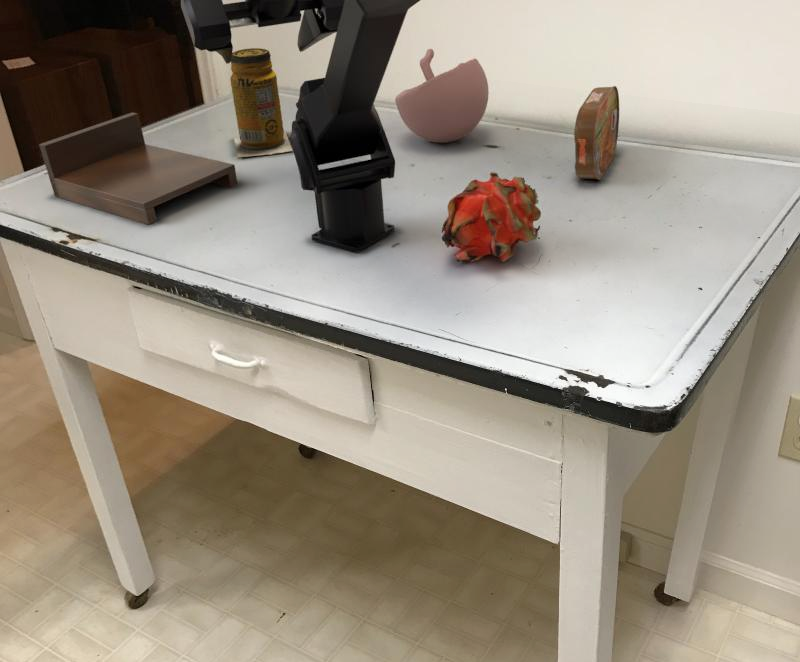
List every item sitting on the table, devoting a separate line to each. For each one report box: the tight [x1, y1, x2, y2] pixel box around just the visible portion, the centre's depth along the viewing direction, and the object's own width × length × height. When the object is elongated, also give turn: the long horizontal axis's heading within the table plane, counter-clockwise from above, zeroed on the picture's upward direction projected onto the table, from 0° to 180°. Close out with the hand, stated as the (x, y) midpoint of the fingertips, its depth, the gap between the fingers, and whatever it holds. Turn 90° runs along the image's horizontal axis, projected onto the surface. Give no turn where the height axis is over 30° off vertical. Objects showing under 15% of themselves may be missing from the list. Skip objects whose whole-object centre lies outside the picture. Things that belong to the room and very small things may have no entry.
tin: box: [573, 85, 620, 181], centre depth 100 cm, size 15×3×8 cm, turn 158°
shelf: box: [39, 112, 239, 225], centre depth 103 cm, size 18×14×6 cm
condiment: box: [229, 47, 293, 158], centre depth 113 cm, size 7×8×12 cm
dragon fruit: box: [441, 171, 542, 263], centre depth 83 cm, size 8×8×12 cm
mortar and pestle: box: [394, 48, 490, 144], centre depth 111 cm, size 12×12×12 cm
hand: (263, 54), depth 103 cm, fingers open, 9 cm apart
